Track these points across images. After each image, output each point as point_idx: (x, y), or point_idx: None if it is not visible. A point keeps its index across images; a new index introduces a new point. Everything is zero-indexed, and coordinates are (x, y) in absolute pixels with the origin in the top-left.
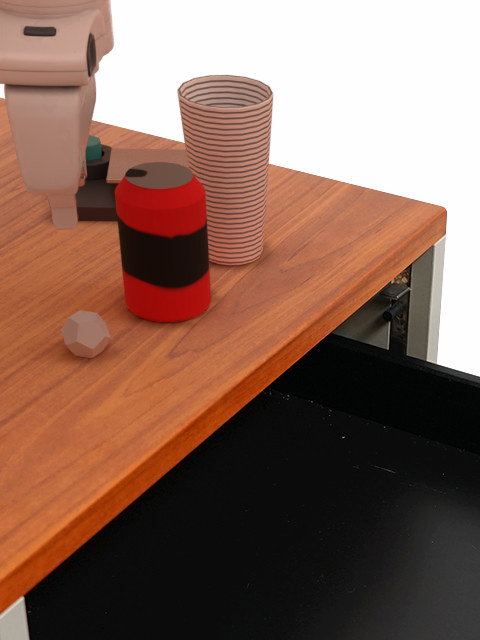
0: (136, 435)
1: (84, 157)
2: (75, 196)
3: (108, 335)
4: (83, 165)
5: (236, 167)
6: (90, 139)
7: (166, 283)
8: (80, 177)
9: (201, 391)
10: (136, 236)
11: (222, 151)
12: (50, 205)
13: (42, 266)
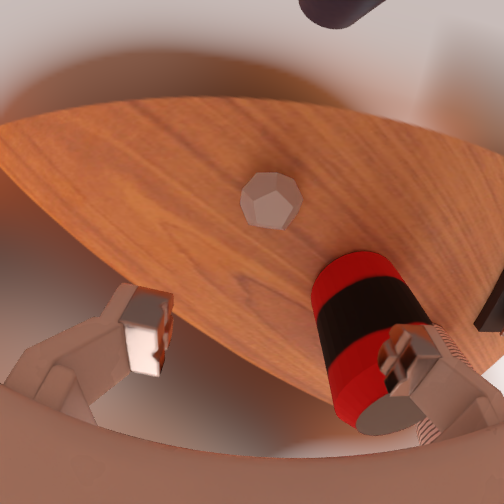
0: (93, 226)
1: (414, 402)
2: None
3: (263, 227)
4: (390, 396)
5: (421, 427)
6: None
7: (319, 316)
8: (386, 365)
9: (167, 291)
10: (353, 333)
11: (432, 434)
12: (84, 322)
13: (471, 179)
